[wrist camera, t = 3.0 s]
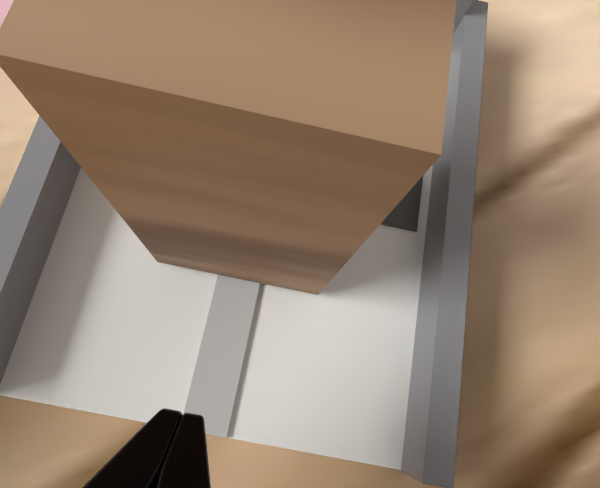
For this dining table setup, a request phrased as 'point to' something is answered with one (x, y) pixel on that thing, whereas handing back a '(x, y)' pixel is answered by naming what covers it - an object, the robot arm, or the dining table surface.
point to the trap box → (252, 312)
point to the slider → (241, 119)
